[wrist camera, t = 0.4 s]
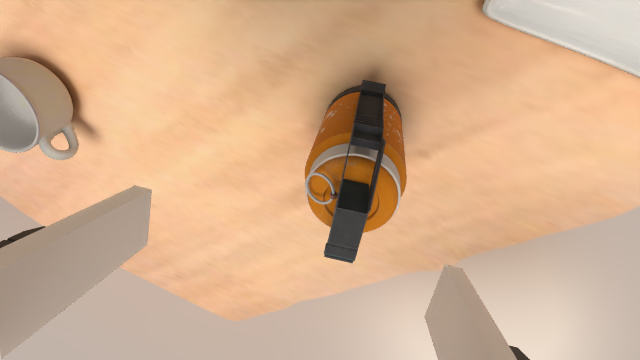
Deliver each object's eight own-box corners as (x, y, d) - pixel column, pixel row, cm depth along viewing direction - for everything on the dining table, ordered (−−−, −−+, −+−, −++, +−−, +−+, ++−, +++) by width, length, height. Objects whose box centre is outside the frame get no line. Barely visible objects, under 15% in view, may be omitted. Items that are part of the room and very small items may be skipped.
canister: (321, 146, 42) (279, 264, 26) (335, 58, 36) (292, 140, 20) (389, 161, 42) (391, 290, 25) (416, 74, 36) (442, 172, 19)
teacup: (-6, 73, 45) (-73, 93, 38) (34, 31, 40) (-34, 45, 34) (77, 155, 50) (30, 184, 44) (120, 126, 46) (75, 153, 39)
